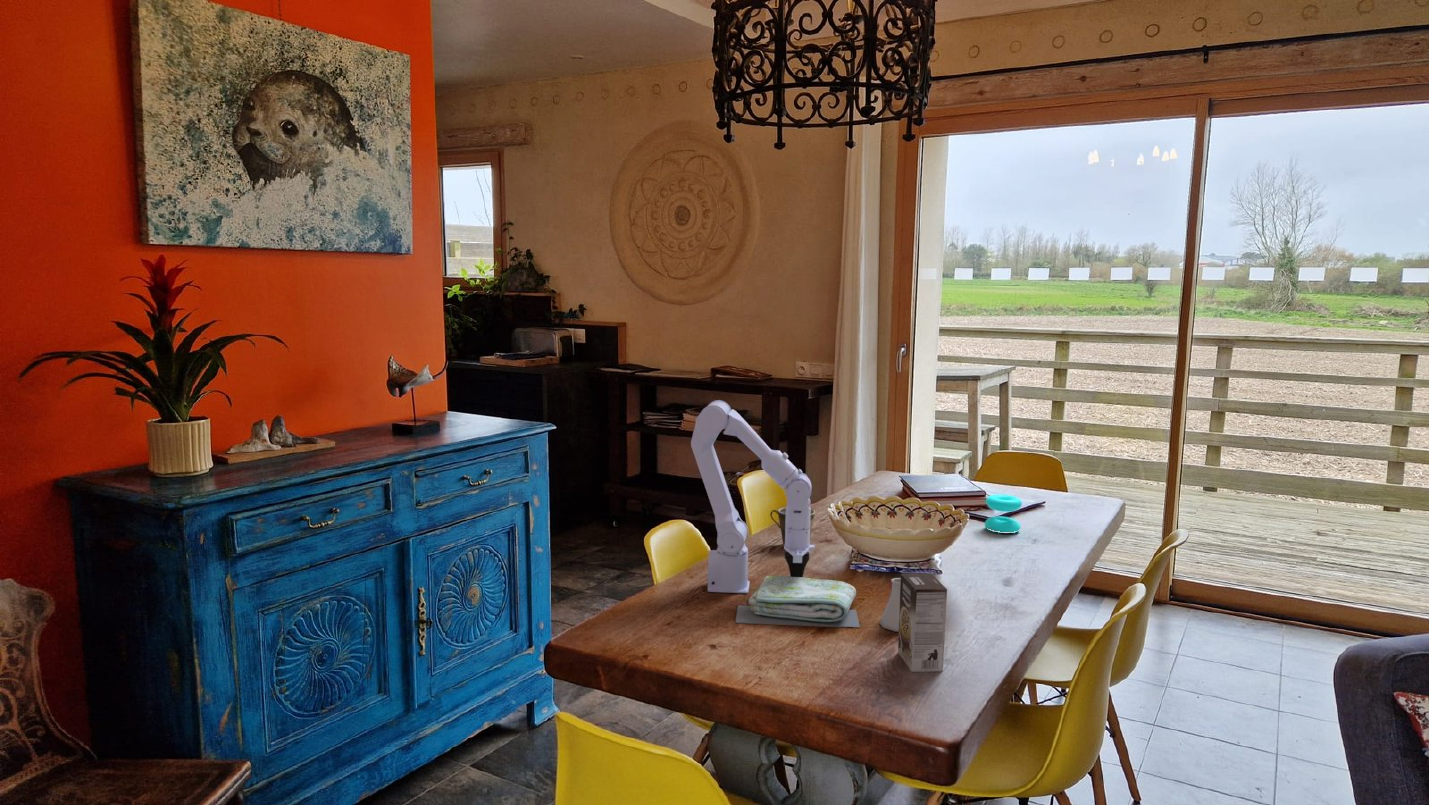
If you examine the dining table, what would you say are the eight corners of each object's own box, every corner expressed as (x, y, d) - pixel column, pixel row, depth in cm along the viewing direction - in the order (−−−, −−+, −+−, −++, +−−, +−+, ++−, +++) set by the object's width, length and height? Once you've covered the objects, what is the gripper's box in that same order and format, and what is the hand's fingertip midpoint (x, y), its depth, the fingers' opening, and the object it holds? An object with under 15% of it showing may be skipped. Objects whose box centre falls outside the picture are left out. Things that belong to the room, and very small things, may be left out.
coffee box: (896, 652, 176) (899, 572, 174) (928, 652, 177) (932, 572, 175) (910, 672, 167) (913, 588, 165) (944, 671, 168) (948, 588, 166)
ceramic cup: (820, 545, 248) (821, 510, 246) (803, 554, 239) (804, 517, 238) (778, 537, 254) (779, 503, 253) (761, 546, 246) (761, 510, 245)
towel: (765, 590, 211) (765, 569, 210) (856, 599, 205) (857, 577, 205) (747, 616, 193) (747, 593, 193) (846, 627, 188) (847, 603, 187)
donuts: (982, 493, 269) (1015, 493, 269) (980, 525, 270) (1013, 526, 270) (991, 501, 259) (1026, 501, 259) (990, 535, 260) (1024, 535, 260)
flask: (894, 635, 185) (896, 588, 184) (873, 623, 191) (874, 577, 190) (922, 629, 188) (924, 583, 187) (900, 617, 195) (902, 573, 193)
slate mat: (735, 623, 190) (735, 622, 190) (737, 606, 200) (737, 605, 200) (859, 628, 188) (859, 627, 188) (856, 610, 198) (856, 610, 198)
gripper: (816, 536, 201) (814, 595, 202) (814, 519, 215) (812, 574, 217) (784, 535, 201) (783, 593, 203) (784, 518, 216) (783, 573, 217)
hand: (796, 583), depth 210 cm, fingers closed
